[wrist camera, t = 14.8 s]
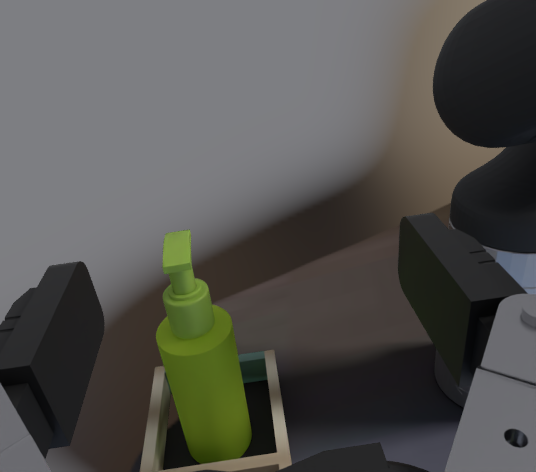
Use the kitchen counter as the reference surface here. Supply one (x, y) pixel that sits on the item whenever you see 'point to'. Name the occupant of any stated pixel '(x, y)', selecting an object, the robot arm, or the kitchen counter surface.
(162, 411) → the caddy
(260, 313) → the kitchen counter surface
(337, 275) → the kitchen counter surface
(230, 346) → the soap dispenser
